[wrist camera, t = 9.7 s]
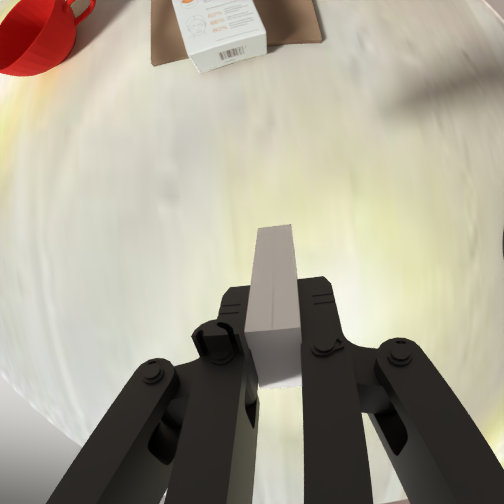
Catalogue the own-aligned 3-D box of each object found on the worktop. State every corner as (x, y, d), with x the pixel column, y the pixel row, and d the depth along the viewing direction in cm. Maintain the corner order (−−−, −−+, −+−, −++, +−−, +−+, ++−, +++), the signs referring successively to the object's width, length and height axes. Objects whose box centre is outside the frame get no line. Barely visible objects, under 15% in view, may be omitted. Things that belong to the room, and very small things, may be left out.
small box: (268, 55, 28) (243, -8, 26) (267, 32, 23) (239, -33, 21) (199, 75, 29) (181, 11, 27) (186, 56, 24) (167, -12, 22)
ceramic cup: (119, 50, 29) (79, 19, 20) (28, 100, 31) (-16, 89, 21) (116, -11, 27) (86, -44, 17) (31, 38, 29) (-5, 21, 19)
